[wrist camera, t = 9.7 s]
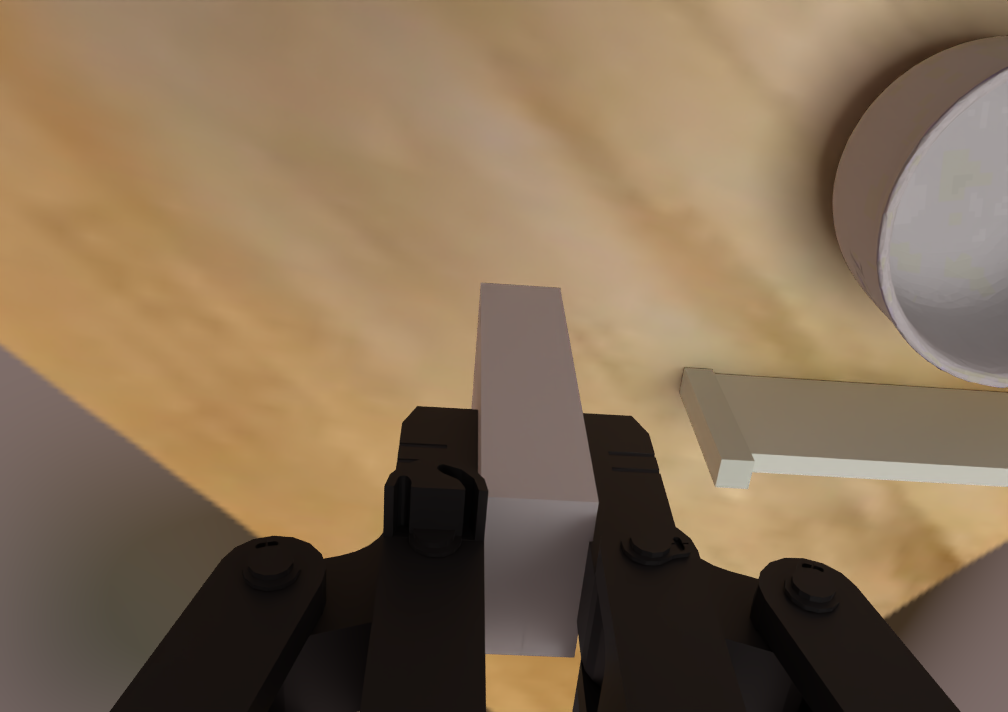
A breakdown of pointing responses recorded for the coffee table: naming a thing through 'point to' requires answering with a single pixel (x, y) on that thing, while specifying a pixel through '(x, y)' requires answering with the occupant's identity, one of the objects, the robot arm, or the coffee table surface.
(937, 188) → the teacup
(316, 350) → the coffee table surface
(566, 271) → the coffee table surface
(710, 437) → the crate
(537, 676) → the coffee table surface
